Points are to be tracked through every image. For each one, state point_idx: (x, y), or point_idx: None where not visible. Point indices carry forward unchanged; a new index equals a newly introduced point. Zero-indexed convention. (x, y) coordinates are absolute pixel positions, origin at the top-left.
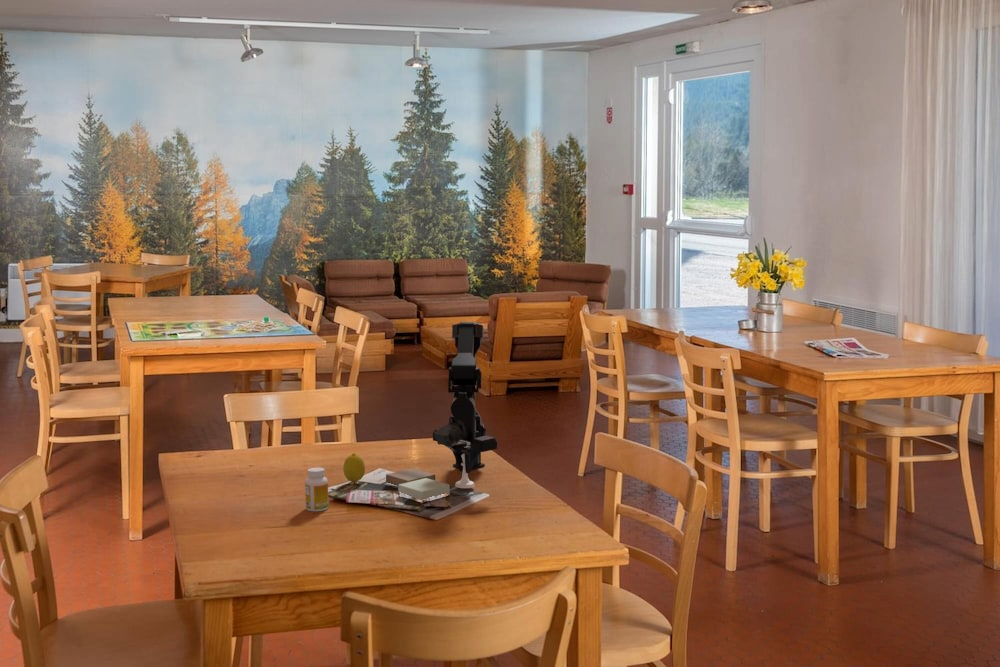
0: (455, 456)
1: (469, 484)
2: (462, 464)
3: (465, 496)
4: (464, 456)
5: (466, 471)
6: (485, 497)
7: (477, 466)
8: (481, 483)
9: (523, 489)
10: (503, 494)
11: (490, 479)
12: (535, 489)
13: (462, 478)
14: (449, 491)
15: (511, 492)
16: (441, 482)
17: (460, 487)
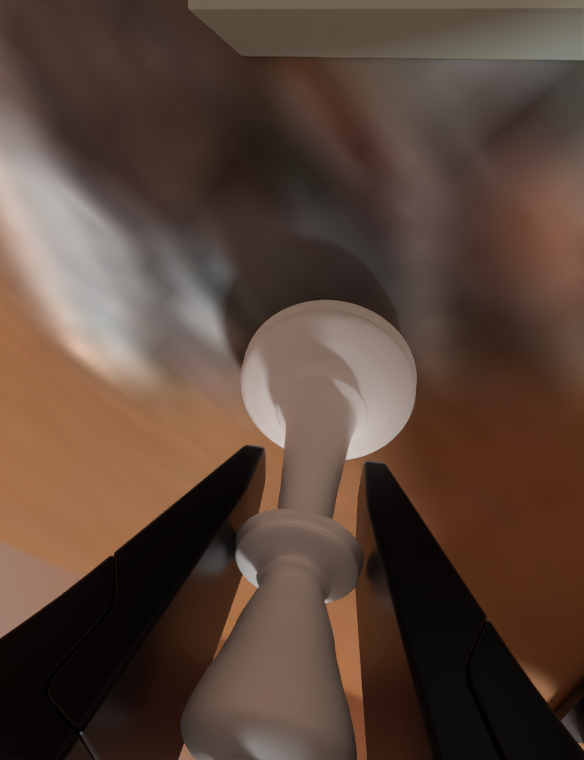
0: (496, 681)
1: (245, 377)
2: (290, 524)
3: (146, 197)
4: (208, 697)
5: (243, 454)
6: (35, 293)
7: (569, 707)
8: (335, 519)
9: (80, 535)
10: (45, 419)
11: (352, 590)
12: (51, 556)
13: (322, 398)
14: (221, 36)
15: (61, 471)
16: (391, 4)
17: (299, 306)
